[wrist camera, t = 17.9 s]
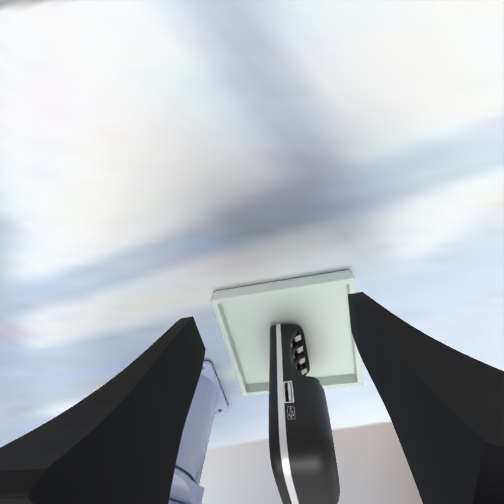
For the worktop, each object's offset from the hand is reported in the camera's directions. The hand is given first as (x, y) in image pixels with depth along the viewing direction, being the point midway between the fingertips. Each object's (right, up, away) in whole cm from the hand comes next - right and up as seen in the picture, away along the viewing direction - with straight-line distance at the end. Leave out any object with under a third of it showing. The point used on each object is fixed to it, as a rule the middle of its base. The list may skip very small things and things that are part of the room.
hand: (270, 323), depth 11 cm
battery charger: (+3, -6, +13) cm, 15 cm away
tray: (+3, -5, +13) cm, 14 cm away
